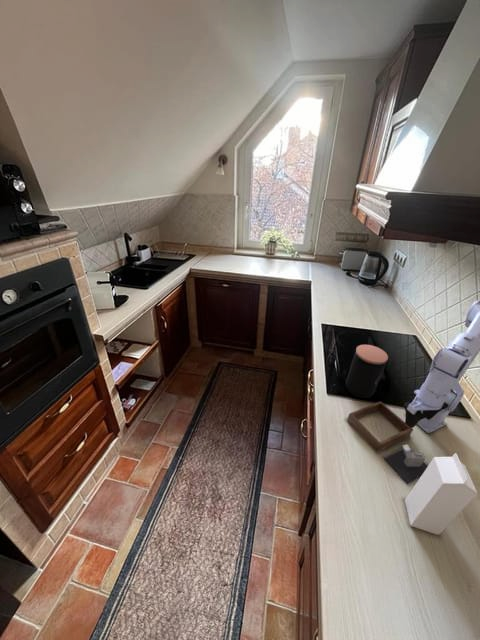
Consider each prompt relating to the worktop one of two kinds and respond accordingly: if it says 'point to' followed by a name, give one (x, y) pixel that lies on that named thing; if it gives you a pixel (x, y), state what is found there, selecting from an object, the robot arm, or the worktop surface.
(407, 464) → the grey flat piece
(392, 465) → the mat
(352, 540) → the worktop surface
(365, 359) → the coffee jar
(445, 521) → the milk
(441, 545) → the worktop surface
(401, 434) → the brown wooden tray
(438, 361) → the robot arm
